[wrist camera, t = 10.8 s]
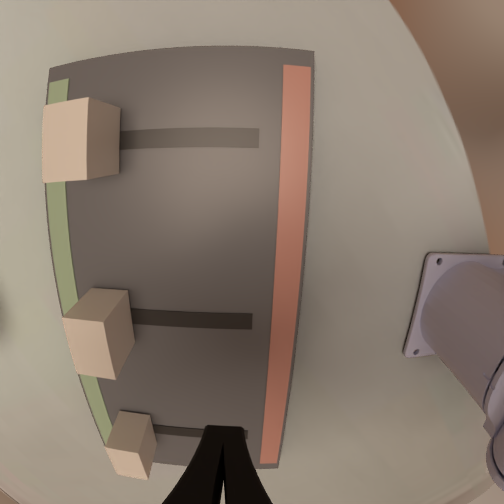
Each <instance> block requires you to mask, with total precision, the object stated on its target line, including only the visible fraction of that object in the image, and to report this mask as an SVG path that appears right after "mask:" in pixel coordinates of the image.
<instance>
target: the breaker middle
mask: <svg viewBox="0 0 504 504" xmlns="http://www.w3.org/2000/svg"><path fill="white" fill-rule="evenodd" d="M62 320H63V324H64V328H65V332H66V336H67V340H68V344H69V348H70V351H71V355H72V358H73V362H74V365H75V368H76V372H77V374H82V375H88V376H94V377H100V378H106V379H113V380H116V379H117V377H118V375H119V373H120V371H121V369H122V367H123V365H124V363H125V361H126V359H127V357H128V355H129V353H130V351H131V349H132V347H133V345H134V344H135V338H134V332H133V325H132V318H131V311H130V303H129V295H128V290H116V289H101V288H91V289H90V290H89V291H88V292H87V293H86V294H85V295H84V296H83V297H82V298H81V299H80V300H79V301H78V302H77V303H76V304H75V305H74V306H73V307H72V308H71V309H70V310H69V311H68V312H67V313H66V314H65V315H64V316H63V317H62Z"/></svg>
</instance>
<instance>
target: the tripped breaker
mask: <svg viewBox="0 0 504 504" xmlns="http://www.w3.org/2000/svg"><path fill="white" fill-rule="evenodd" d="M120 111H121V108H119V107H116V106H113V105H111V104H108V103H105V102H102V101H99V100H96V99H93V98H90V97H86V98H80V99H74V100H69V101H64V102H59V103H54V104H49V105H44V110H43V131H42V178H43V183H50V182H62V181H76V180H88V179H93V178H98V177H104V176H109V175H115V174H119V139H120Z"/></svg>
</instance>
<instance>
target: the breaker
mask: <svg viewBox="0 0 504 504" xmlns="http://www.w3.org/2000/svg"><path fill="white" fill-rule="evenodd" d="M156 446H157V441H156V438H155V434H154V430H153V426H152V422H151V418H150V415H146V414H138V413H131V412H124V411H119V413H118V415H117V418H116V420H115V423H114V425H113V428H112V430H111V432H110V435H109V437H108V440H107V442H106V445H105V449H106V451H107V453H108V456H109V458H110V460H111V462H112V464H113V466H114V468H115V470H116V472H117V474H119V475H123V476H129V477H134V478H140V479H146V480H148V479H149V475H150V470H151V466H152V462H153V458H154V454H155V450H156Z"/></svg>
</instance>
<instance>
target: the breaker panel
mask: <svg viewBox="0 0 504 504" xmlns="http://www.w3.org/2000/svg"><path fill="white" fill-rule="evenodd" d="M86 97H90V98H93V99H96V100H99V101H102V102H105V103H108V104H111V105H113V106H116V107H119V108H121V111H120V139H119V174H115V175H109V176H104V177H98V178H93V179H88V180H76V181H62V182H50V183H45V197H46V212H47V223H48V233H49V241H50V249H51V257H52V263H53V270H54V276H55V282H56V287H57V293H58V298H59V303H60V307H61V312H62V316H64V315H65V314H66V313H67V312H68V311H69V310H70V309H71V308H72V307H73V306H74V305H75V304H76V303H77V302H78V301H79V300H80V299H81V298H82V297H83V296H84V295H85V294H86V293H87V292H88V291H89V290H90V289H91V288H101V289H116V290H128V295H129V303H130V311H131V318H132V325H133V332H134V338H135V344H134V345H133V347H132V349H131V351H130V353H129V355H128V357H127V359H126V361H125V363H124V365H123V367H122V369H121V371H120V373H119V375H118V377H117V379H116V380H113V379H106V378H100V377H94V376H88V375H82V374H78V376H79V379H80V382H81V385H82V388H83V391H84V394H85V397H86V400H87V402H88V405H89V408H90V411H91V413H92V416H93V418H94V421H95V424H96V426H97V429H98V431H99V433H100V436H101V438H102V441H103V443H104V445H106V442H107V440H108V437H109V435H110V432H111V430H112V428H113V425H114V423H115V420H116V418H117V415H118V413H119V411H124V412H131V413H138V414H146V415H150V418H151V422H152V426H153V430H154V434H155V438H156V441H157V446H156V450H155V454H154V458H153V462H156V463H164V464H172V465H181V466H188V465H189V463H190V461H191V459H192V457H193V455H194V454H195V452H196V449H197V447H198V445H199V443H200V440H201V438H202V435H203V432H204V428H205V426H207V425H220V426H241V427H243V428H244V434H245V439H246V444H247V448H248V451H249V454H250V457H251V460H252V463H253V465H254V468H255V469H272V468H278V465H279V460H280V454H281V448H282V442H283V436H284V429H285V423H286V416H287V410H288V403H289V396H290V389H291V381H292V374H293V366H294V358H295V350H296V342H297V333H298V325H299V315H300V306H301V296H302V286H303V276H304V265H305V253H306V241H307V228H308V214H309V198H310V182H311V163H312V140H313V109H314V51H308V50H299V49H288V48H276V47H258V46H193V47H176V48H163V49H152V50H143V51H135V52H128V53H121V54H114V55H108V56H103V57H97V58H92V59H87V60H82V61H77V62H73V63H69V64H64V65H60V66H56V67H52V68H50V70H49V78H48V87H47V98H46V105H49V104H54V103H59V102H64V101H69V100H74V99H80V98H86Z"/></svg>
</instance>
